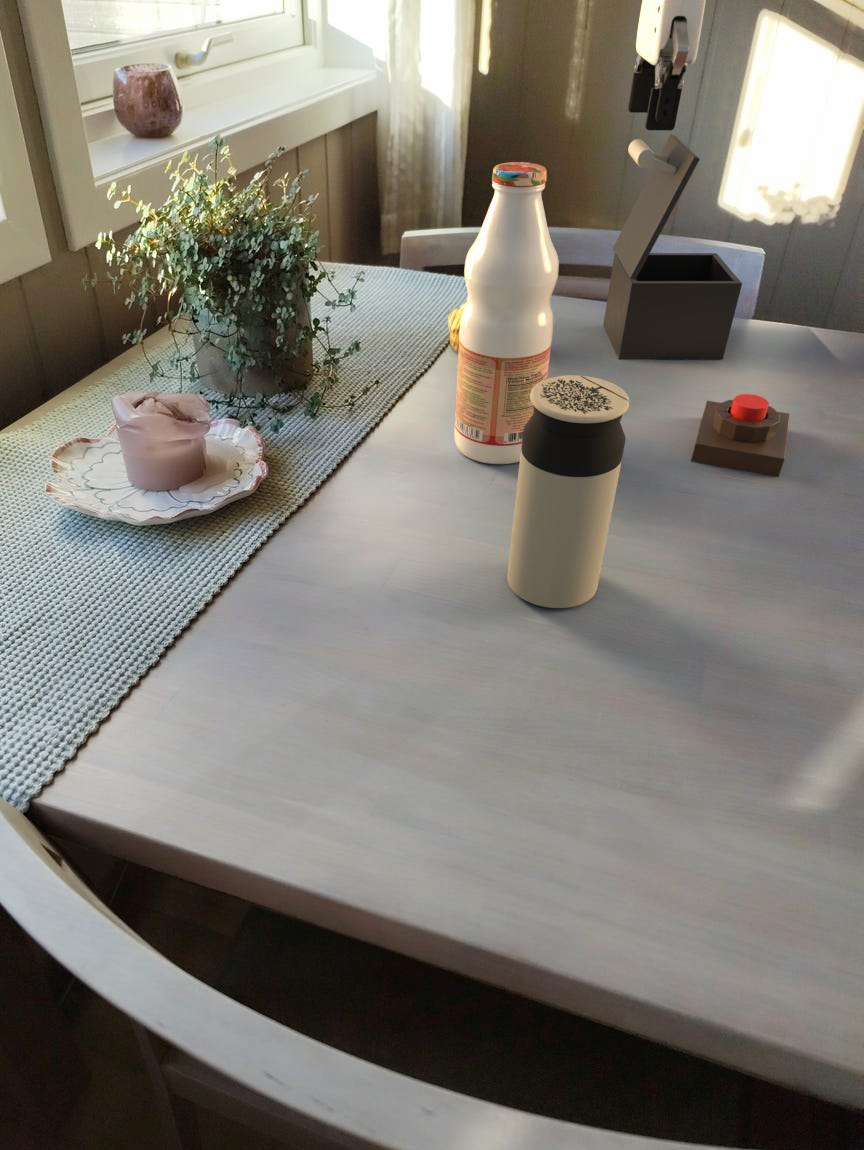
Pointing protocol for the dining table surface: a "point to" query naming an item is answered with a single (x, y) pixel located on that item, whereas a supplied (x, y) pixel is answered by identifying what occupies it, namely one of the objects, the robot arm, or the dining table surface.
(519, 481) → the travel mug
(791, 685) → the dining table surface
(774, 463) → the panel
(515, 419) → the fruit juice
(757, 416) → the button
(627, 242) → the lid
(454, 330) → the seashell
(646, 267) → the dark hinged lid box
